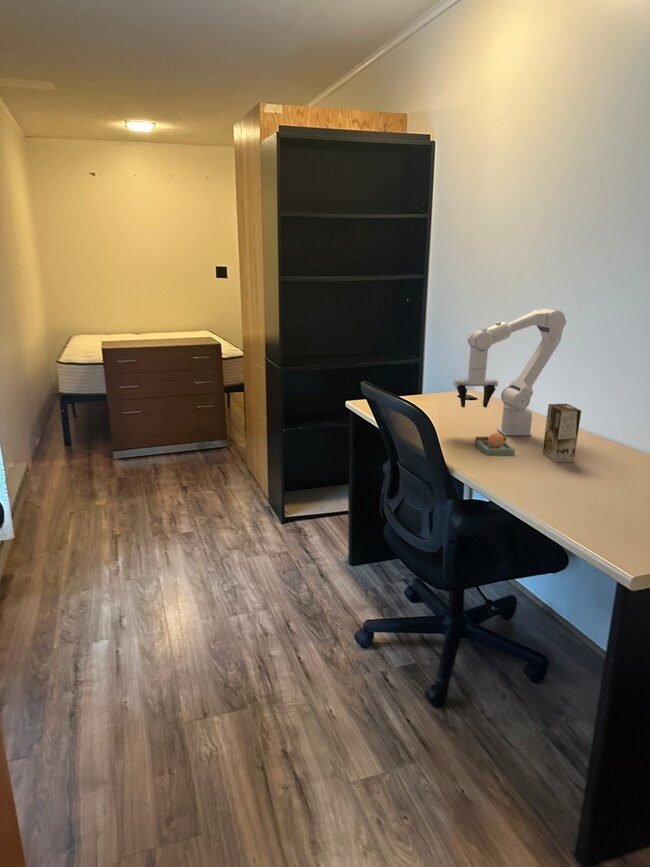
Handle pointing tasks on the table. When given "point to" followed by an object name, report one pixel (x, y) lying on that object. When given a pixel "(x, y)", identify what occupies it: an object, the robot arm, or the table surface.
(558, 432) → the coffee box
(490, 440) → the ball
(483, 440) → the rail
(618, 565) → the table surface
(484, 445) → the tray
